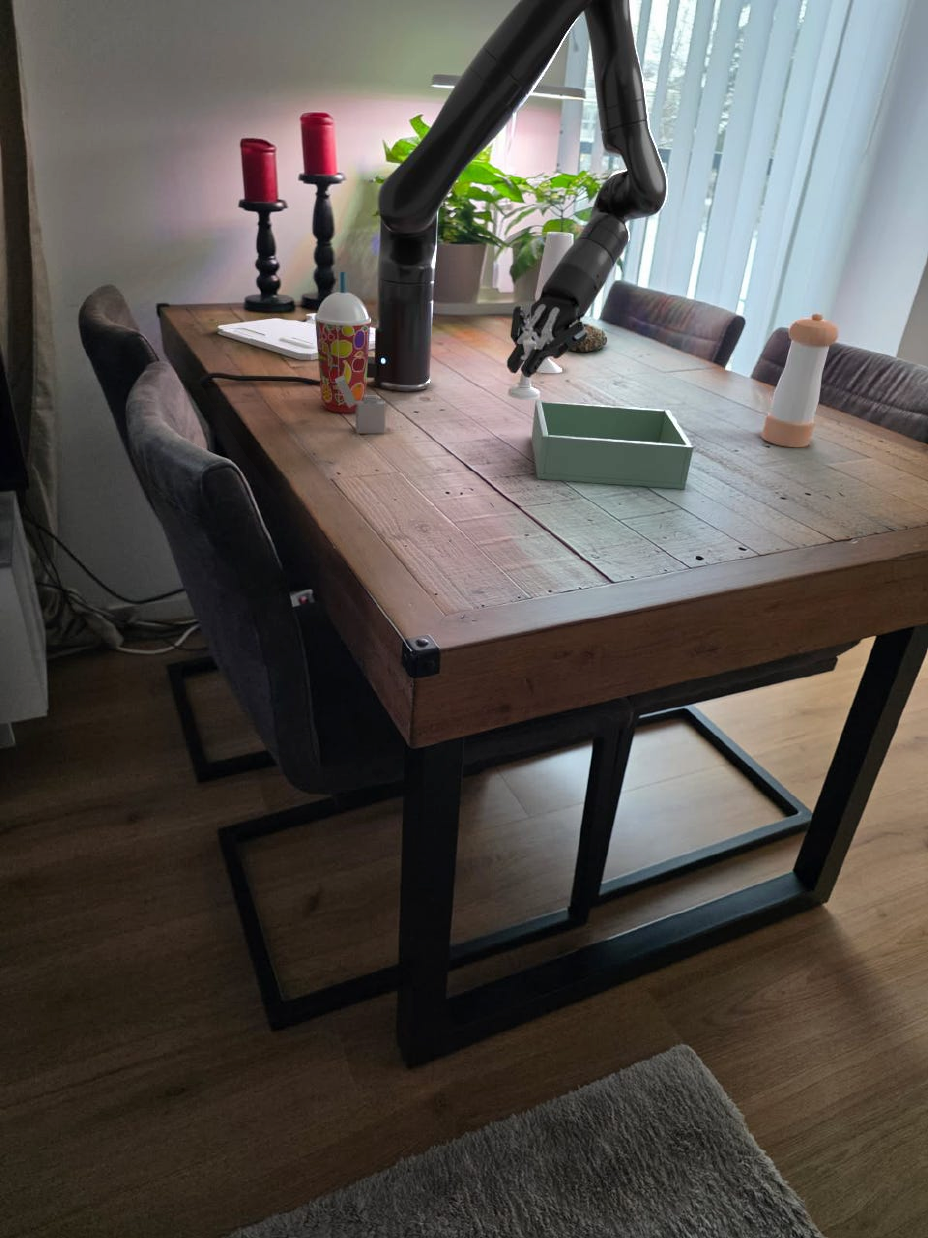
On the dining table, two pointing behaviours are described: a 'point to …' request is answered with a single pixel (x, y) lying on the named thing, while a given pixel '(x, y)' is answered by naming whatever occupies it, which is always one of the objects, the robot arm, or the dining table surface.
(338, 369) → the smoothie
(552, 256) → the champagne flute
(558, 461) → the open box
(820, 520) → the dining table surface
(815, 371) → the pepper shaker
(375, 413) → the lighter
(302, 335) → the tray
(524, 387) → the chess piece
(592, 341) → the bread roll
